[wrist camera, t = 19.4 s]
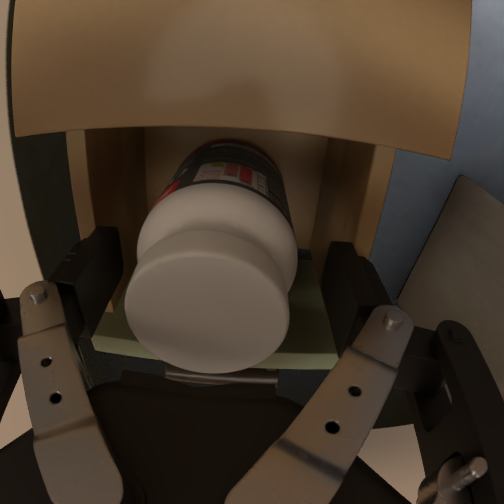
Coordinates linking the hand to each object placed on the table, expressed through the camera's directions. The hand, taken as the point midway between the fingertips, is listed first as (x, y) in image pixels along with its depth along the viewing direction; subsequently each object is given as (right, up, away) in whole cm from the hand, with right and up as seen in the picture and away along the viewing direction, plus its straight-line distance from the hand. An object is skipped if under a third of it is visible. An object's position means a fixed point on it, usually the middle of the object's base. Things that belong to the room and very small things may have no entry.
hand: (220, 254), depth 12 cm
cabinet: (+1, +15, +1) cm, 15 cm away
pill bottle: (0, +4, +5) cm, 7 cm away
